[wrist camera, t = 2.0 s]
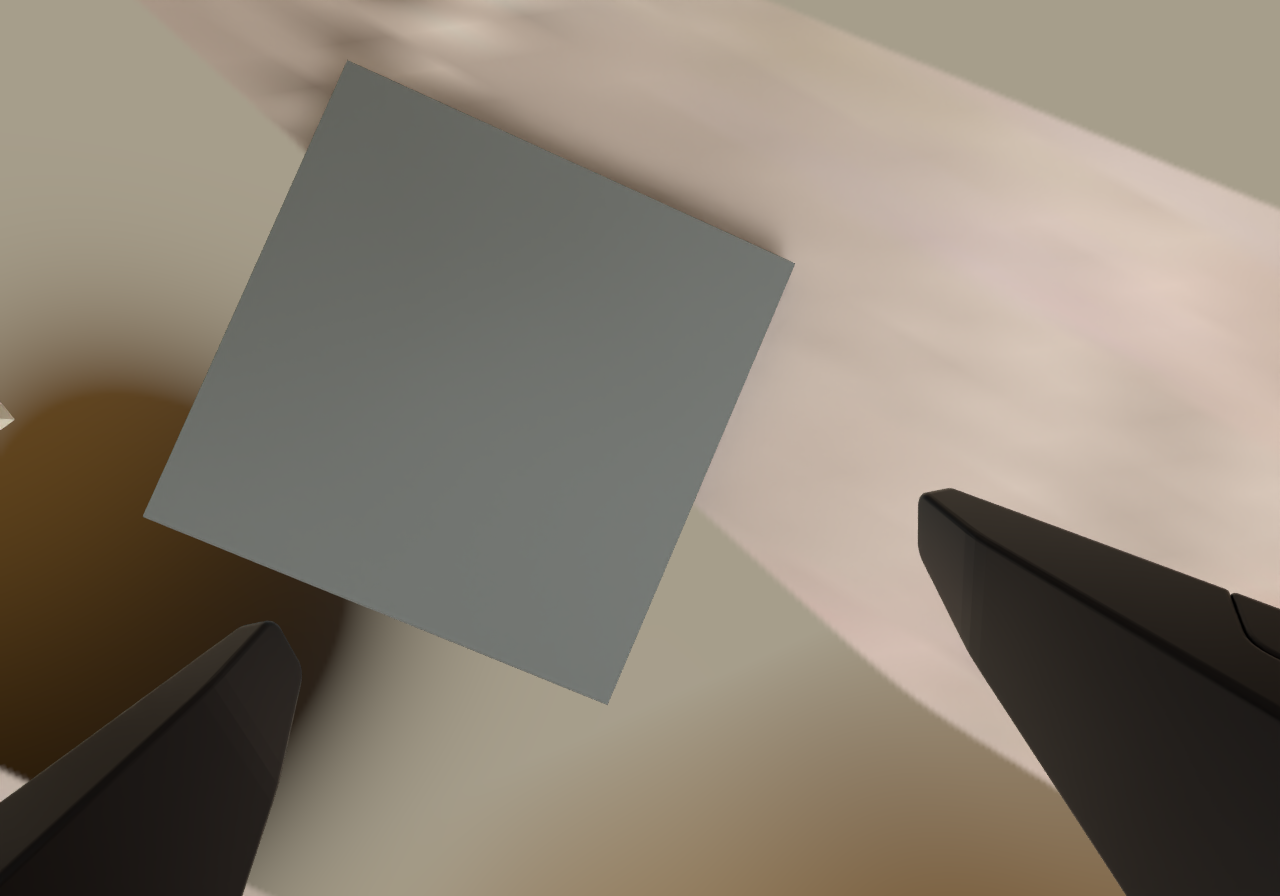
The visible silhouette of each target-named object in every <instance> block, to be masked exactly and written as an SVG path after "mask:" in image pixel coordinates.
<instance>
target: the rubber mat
mask: <svg viewBox="0 0 1280 896" xmlns="http://www.w3.org/2000/svg"><path fill="white" fill-rule="evenodd" d="M794 265H795V263H793V262H791V261H789V260H786V259H784V258H782V257H780V256H778V255H775V254H773V253H771V252H769V251H767V250H764V249H762V248H760V247H758V246H756V245H753V244H751V243H749V242H747V241H745V240H742V239H740V238H738V237H736V236H733V235H731V234H729V233H727V232H725V231H722V230H720V229H718V228H716V227H714V226H711V225H709V224H707V223H705V222H703V221H700V220H698V219H696V218H694V217H692V216H689V215H687V214H685V213H683V212H681V211H678V210H676V209H674V208H672V207H670V206H667V205H665V204H663V203H661V202H659V201H656V200H654V199H652V198H650V197H648V196H645V195H643V194H641V193H639V192H637V191H634V190H632V189H630V188H628V187H626V186H623V185H621V184H619V183H617V182H615V181H612V180H610V179H608V178H606V177H604V176H601V175H599V174H597V173H595V172H593V171H590V170H588V169H586V168H584V167H582V166H579V165H577V164H575V163H573V162H571V161H568V160H566V159H564V158H562V157H560V156H557V155H555V154H553V153H551V152H549V151H546V150H544V149H542V148H540V147H538V146H535V145H533V144H531V143H529V142H527V141H524V140H522V139H520V138H518V137H516V136H513V135H511V134H509V133H507V132H505V131H502V130H500V129H498V128H496V127H494V126H491V125H489V124H487V123H485V122H483V121H480V120H478V119H476V118H474V117H472V116H469V115H467V114H465V113H463V112H461V111H458V110H456V109H454V108H452V107H450V106H447V105H445V104H443V103H441V102H438V101H436V100H434V99H432V98H430V97H427V96H425V95H423V94H421V93H419V92H416V91H414V90H412V89H410V88H408V87H405V86H403V85H401V84H399V83H397V82H394V81H392V80H390V79H388V78H386V77H383V76H381V75H379V74H377V73H375V72H372V71H370V70H368V69H366V68H364V67H361V66H359V65H357V64H355V63H353V62H350V61H348V60H347V62H346V65H345V67H344V69H343V71H342V74H341V76H340V78H339V80H338V82H337V85H336V87H335V89H334V91H333V94H332V96H331V98H330V100H329V102H328V105H327V107H326V109H325V111H324V114H323V116H322V118H321V120H320V123H319V125H318V127H317V129H316V131H315V134H314V136H313V138H312V140H311V143H310V145H309V147H308V149H307V152H306V154H305V156H304V158H303V161H302V163H301V165H300V167H299V169H298V172H297V174H296V176H295V178H294V181H293V183H292V185H291V187H290V190H289V192H288V194H287V196H286V198H285V201H284V203H283V205H282V207H281V210H280V212H279V214H278V216H277V218H276V221H275V223H274V225H273V227H272V230H271V232H270V234H269V236H268V239H267V241H266V243H265V245H264V247H263V250H262V252H261V254H260V257H259V259H258V261H257V263H256V265H255V267H254V270H253V272H252V274H251V276H250V279H249V281H248V283H247V286H246V288H245V290H244V292H243V295H242V297H241V299H240V301H239V303H238V305H237V308H236V310H235V312H234V314H233V317H232V319H231V321H230V323H229V325H228V328H227V330H226V332H225V334H224V337H223V339H222V341H221V343H220V346H219V348H218V350H217V352H216V354H215V357H214V359H213V361H212V364H211V366H210V368H209V370H208V372H207V375H206V377H205V379H204V381H203V383H202V386H201V388H200V390H199V392H198V395H197V397H196V399H195V401H194V404H193V406H192V408H191V410H190V412H189V415H188V417H187V419H186V421H185V424H184V426H183V428H182V430H181V432H180V435H179V437H178V439H177V442H176V444H175V446H174V448H173V450H172V453H171V455H170V457H169V460H168V461H167V464H166V466H165V468H164V471H163V473H162V475H161V477H160V479H159V482H158V484H157V486H156V488H155V490H154V493H153V495H152V497H151V500H150V502H149V504H148V506H147V508H146V511H145V513H144V515H143V517H145V518H147V519H150V520H152V521H155V522H157V523H159V524H162V525H164V526H167V527H169V528H172V529H175V530H177V531H180V532H182V533H184V534H187V535H189V536H192V537H194V538H197V539H199V540H202V541H204V542H207V543H209V544H211V545H214V546H216V547H219V548H221V549H224V550H226V551H229V552H231V553H234V554H236V555H238V556H241V557H244V558H246V559H248V560H251V561H253V562H256V563H258V564H261V565H263V566H266V567H268V568H271V569H273V570H276V571H278V572H280V573H283V574H285V575H288V576H290V577H293V578H295V579H298V580H300V581H303V582H305V583H308V584H310V585H313V586H315V587H317V588H320V589H322V590H325V591H328V592H330V593H332V594H335V595H337V596H340V597H342V598H345V599H347V600H350V601H352V602H355V603H357V604H359V605H362V606H364V607H367V608H369V609H372V610H374V611H377V612H379V613H382V614H384V615H387V616H389V617H392V618H394V619H396V620H399V621H402V622H404V623H406V624H409V625H411V626H414V627H416V628H419V629H421V630H424V631H426V632H429V633H431V634H434V635H436V636H438V637H441V638H443V639H446V640H448V641H451V642H454V643H456V644H458V645H461V646H463V647H466V648H468V649H471V650H473V651H476V652H478V653H480V654H483V655H485V656H488V657H490V658H493V659H495V660H498V661H500V662H503V663H505V664H508V665H510V666H512V667H515V668H517V669H520V670H523V671H525V672H527V673H530V674H532V675H535V676H537V677H540V678H542V679H545V680H547V681H550V682H552V683H555V684H557V685H559V686H562V687H564V688H567V689H569V690H572V691H574V692H577V693H579V694H582V695H584V696H587V697H589V698H591V699H594V700H596V701H599V702H601V703H604V704H606V705H608V703H609V700H610V698H611V695H612V693H613V691H614V688H615V686H616V684H617V681H618V679H619V677H620V674H621V672H622V669H623V667H624V665H625V663H626V660H627V658H628V655H629V653H630V651H631V648H632V646H633V644H634V641H635V639H636V637H637V634H638V632H639V629H640V627H641V625H642V623H643V620H644V618H645V615H646V613H647V611H648V608H649V606H650V604H651V601H652V599H653V597H654V594H655V592H656V590H657V587H658V585H659V582H660V580H661V578H662V576H663V573H664V571H665V568H666V566H667V564H668V561H669V559H670V557H671V554H672V552H673V550H674V547H675V545H676V543H677V540H678V538H679V535H680V533H681V531H682V528H683V526H684V524H685V521H686V519H687V517H688V514H689V512H690V510H691V507H692V505H693V503H694V500H695V498H696V496H697V493H698V491H699V489H700V486H701V484H702V481H703V479H704V477H705V474H706V472H707V470H708V467H709V465H710V463H711V460H712V458H713V456H714V453H715V451H716V449H717V446H718V444H719V441H720V439H721V437H722V434H723V432H724V430H725V427H726V425H727V423H728V420H729V418H730V416H731V413H732V411H733V409H734V406H735V404H736V402H737V399H738V397H739V394H740V392H741V390H742V387H743V385H744V383H745V380H746V378H747V376H748V373H749V371H750V369H751V366H752V364H753V362H754V359H755V357H756V354H757V352H758V350H759V347H760V345H761V343H762V340H763V338H764V336H765V333H766V331H767V329H768V326H769V324H770V322H771V319H772V317H773V315H774V312H775V310H776V307H777V305H778V303H779V300H780V298H781V296H782V293H783V291H784V289H785V286H786V284H787V282H788V279H789V277H790V275H791V272H792V270H793V267H794Z"/></svg>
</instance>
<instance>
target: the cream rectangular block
mask: <svg viewBox="0 0 1280 896" xmlns="http://www.w3.org/2000/svg"><path fill="white" fill-rule="evenodd" d="M13 420H14V418H13V417H12V416H11V414H10V413H9V412H8V410H7V409H6V408H5V407H4V405H3V404H2V403H1V402H0V430H1V429H2V428H3V427H5V426H6V425H8V424H9V423H11V422H12V421H13Z"/></svg>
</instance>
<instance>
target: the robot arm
mask: <svg viewBox="0 0 1280 896" xmlns="http://www.w3.org/2000/svg"><path fill="white" fill-rule="evenodd" d="M918 548H919V553H920V556H921V559H922V561H923V563H924V565H925V567H926V569H927V571H928V573H929V575H930V577H931V579H932V581H933V583H934V585H935V587H936V589H937V591H938V593H939V595H940V597H941V599H942V601H943V603H944V605H945V607H946V609H947V611H948V613H949V615H950V617H951V619H952V621H953V623H954V625H955V627H956V629H957V631H958V633H959V635H960V637H961V639H962V641H963V643H964V645H965V647H966V649H967V651H968V652H969V654H970V656H971V657H972V659H973V661H974V662H975V664H976V666H977V667H978V669H979V670H980V672H981V673H982V675H983V676H984V678H985V680H986V681H987V683H988V684H989V686H990V687H991V689H992V690H993V692H994V693H995V695H996V696H997V698H998V700H999V701H1000V703H1001V704H1002V706H1003V707H1004V709H1005V710H1006V712H1007V713H1008V715H1009V716H1010V718H1011V719H1012V721H1013V723H1014V724H1015V726H1016V727H1017V729H1018V730H1019V732H1020V733H1021V735H1022V736H1023V738H1024V739H1025V741H1026V742H1027V744H1028V746H1029V747H1030V749H1031V750H1032V752H1033V753H1034V755H1035V756H1036V758H1037V759H1038V761H1039V762H1040V764H1041V766H1042V767H1043V769H1044V770H1045V772H1046V773H1047V775H1048V776H1049V778H1050V779H1051V781H1052V782H1053V784H1054V785H1055V787H1056V789H1057V790H1058V792H1059V793H1060V795H1061V796H1062V798H1063V799H1064V801H1065V802H1066V804H1067V805H1068V807H1069V808H1070V810H1071V812H1072V813H1073V814H1074V816H1075V818H1076V819H1077V821H1078V822H1079V824H1080V825H1081V827H1082V828H1083V830H1084V831H1085V833H1086V835H1087V836H1088V838H1089V839H1090V840H1091V842H1092V844H1093V845H1094V847H1095V848H1096V850H1097V851H1098V853H1099V854H1100V856H1101V858H1102V859H1103V861H1104V862H1105V864H1106V865H1107V867H1108V868H1109V870H1110V871H1111V873H1112V874H1113V876H1114V878H1115V879H1116V881H1117V882H1118V884H1119V885H1120V887H1121V888H1122V890H1123V891H1124V893H1125V894H1126V896H1280V609H1279V608H1276V607H1273V606H1270V605H1268V604H1265V603H1262V602H1260V601H1257V600H1254V599H1252V598H1249V597H1246V596H1244V595H1241V594H1238V593H1233V594H1231V595H1230V593H1229V591H1228V590H1226V589H1224V588H1221V587H1219V586H1216V585H1213V584H1211V583H1208V582H1205V581H1202V580H1200V579H1197V578H1194V577H1192V576H1189V575H1186V574H1183V573H1181V572H1178V571H1175V570H1173V569H1170V568H1167V567H1164V566H1162V565H1159V564H1156V563H1154V562H1151V561H1148V560H1145V559H1143V558H1140V557H1137V556H1135V555H1132V554H1129V553H1126V552H1124V551H1121V550H1118V549H1116V548H1113V547H1110V546H1107V545H1105V544H1102V543H1099V542H1097V541H1094V540H1091V539H1088V538H1086V537H1083V536H1080V535H1078V534H1075V533H1072V532H1070V531H1067V530H1064V529H1061V528H1059V527H1056V526H1053V525H1051V524H1048V523H1045V522H1042V521H1040V520H1037V519H1034V518H1032V517H1029V516H1026V515H1023V514H1021V513H1018V512H1015V511H1013V510H1010V509H1007V508H1004V507H1002V506H999V505H996V504H994V503H991V502H988V501H985V500H983V499H980V498H977V497H975V496H972V495H969V494H966V493H964V492H961V491H958V490H956V489H952V488H946V489H942V490H937V491H931V492H926V493H923V494H922V495H921V496H920V498H919V502H918ZM301 679H302V672H301V666H300V663H299V661H298V659H297V658H296V655H295V654H294V652H293V650H292V649H291V647H290V645H289V643H288V642H287V639H286V638H285V636H284V634H283V632H282V631H281V629H280V627H279V626H278V625H277V624H276V623H274V622H271V621H265V622H259V623H254V624H249V625H245V626H242V627H240V628H238V629H237V630H235V631H234V632H232V633H231V634H230V635H228V636H227V637H226V638H224V639H223V640H221V641H220V642H219V643H217V644H216V645H215V646H213V647H212V648H211V649H209V650H208V651H206V652H205V653H204V654H202V655H201V656H200V657H198V658H197V659H196V660H194V661H193V662H192V663H190V664H189V665H187V666H186V667H185V668H183V669H182V670H181V671H179V672H178V673H176V674H175V675H174V676H172V677H171V678H170V679H168V680H167V681H165V682H164V683H163V684H161V685H160V686H159V687H157V688H156V689H155V690H153V691H152V692H150V693H149V694H148V695H146V696H145V697H144V698H142V699H141V700H140V701H138V702H137V703H136V704H134V705H133V706H131V707H130V708H129V709H127V710H126V711H125V712H123V713H122V714H120V715H119V716H118V717H116V718H115V719H114V720H112V721H111V722H109V723H108V724H107V725H105V726H104V727H103V728H101V729H100V730H99V731H97V732H96V733H95V734H93V735H92V736H90V737H89V738H88V739H86V740H85V741H84V742H82V743H81V744H79V745H78V746H77V747H75V748H74V749H73V750H71V751H70V752H68V753H67V754H66V755H64V756H63V757H62V758H60V759H59V760H58V761H56V762H55V763H53V764H52V765H51V766H49V767H48V768H47V769H45V770H44V771H43V772H41V773H40V774H38V775H37V776H36V777H34V778H33V779H32V780H30V781H29V782H28V783H26V784H25V785H23V786H22V787H21V788H19V789H18V790H17V791H15V792H14V793H12V794H11V795H10V796H8V797H7V798H6V799H4V800H3V801H2V802H0V896H242V895H243V892H244V889H245V886H246V883H247V880H248V877H249V874H250V871H251V868H252V865H253V861H254V859H255V856H256V853H257V849H258V847H259V844H260V840H261V837H262V834H263V831H264V828H265V825H266V822H267V819H268V816H269V813H270V810H271V807H272V804H273V801H274V797H275V794H276V790H277V787H278V783H279V779H280V776H281V772H282V768H283V763H284V759H285V754H286V749H287V745H288V740H289V736H290V731H291V727H292V722H293V717H294V713H295V708H296V704H297V699H298V694H299V690H300V685H301Z"/></svg>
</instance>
